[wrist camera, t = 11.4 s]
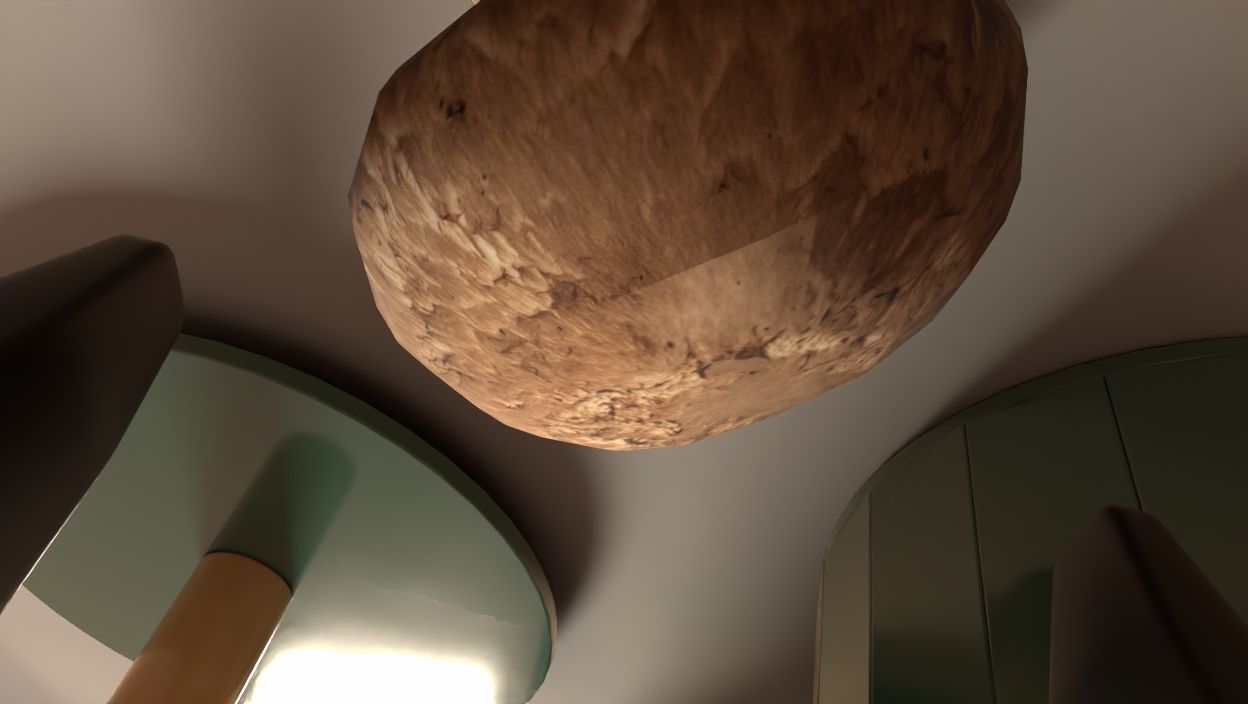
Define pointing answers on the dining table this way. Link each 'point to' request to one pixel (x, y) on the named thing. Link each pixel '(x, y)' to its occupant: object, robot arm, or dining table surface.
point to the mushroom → (683, 201)
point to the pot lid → (294, 552)
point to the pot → (1027, 522)
